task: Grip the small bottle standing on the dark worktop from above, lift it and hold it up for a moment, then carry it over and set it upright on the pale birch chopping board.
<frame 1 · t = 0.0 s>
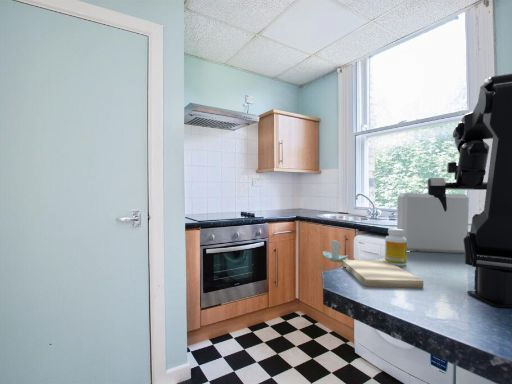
hand: (464, 211, 76), 15 cm above the countertop, tool tilted 35°, fingers open, 9 cm apart
bevelled white case: (430, 250, 93), on the countertop
supplement bottle: (395, 264, 74), on the countertop
pacifier: (336, 261, 76), on the countertop
birch board: (377, 275, 63), on the countertop
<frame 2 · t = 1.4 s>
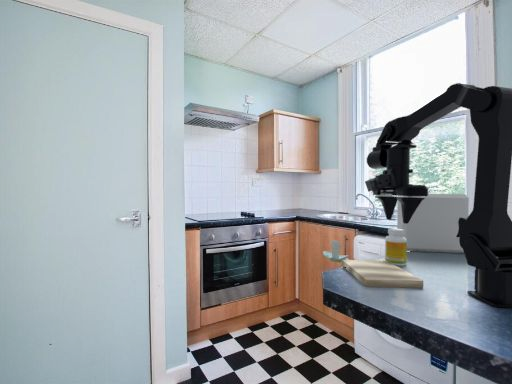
hand: (396, 221, 74), 12 cm above the countertop, tool pointing down, fingers open, 9 cm apart
nothing on the countertop moved.
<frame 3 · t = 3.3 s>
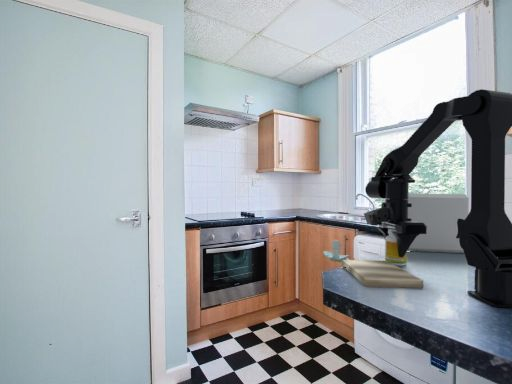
hand: (395, 254, 74), 3 cm above the countertop, tool pointing down, fingers closed on supplement bottle, 5 cm apart
supplement bottle: (395, 264, 74), on the countertop, touching gripper
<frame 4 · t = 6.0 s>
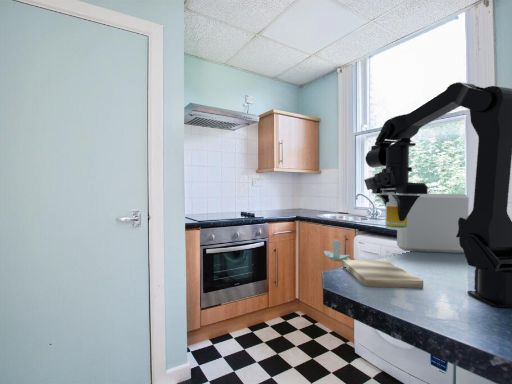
hand: (396, 219, 74), 12 cm above the countertop, tool pointing down, fingers closed on supplement bottle, 5 cm apart
supplement bottle: (395, 229, 74), point 10 cm above the countertop, touching gripper
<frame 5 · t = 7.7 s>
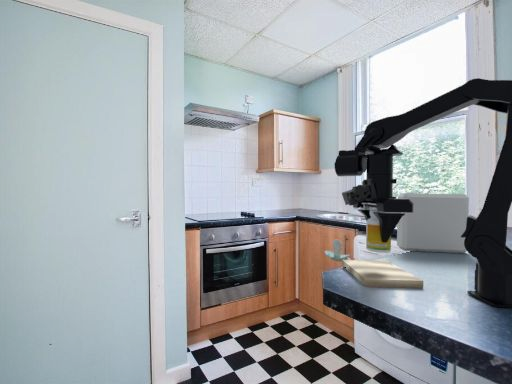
hand: (378, 240, 63), 8 cm above the countertop, tool pointing down, fingers closed on supplement bottle, 5 cm apart
supplement bottle: (378, 251, 63), point 6 cm above the countertop, touching gripper
when the fingers open (5 cm above the countertop, at t = 9.0 s): supplement bottle drops 1 cm, resting on birch board.
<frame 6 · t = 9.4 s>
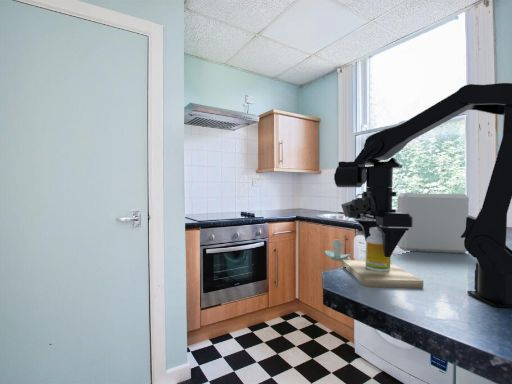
hand: (377, 252, 63), 5 cm above the countertop, tool pointing down, fingers open, 9 cm apart
supplement bottle: (377, 269, 63), point 1 cm above the countertop, touching birch board
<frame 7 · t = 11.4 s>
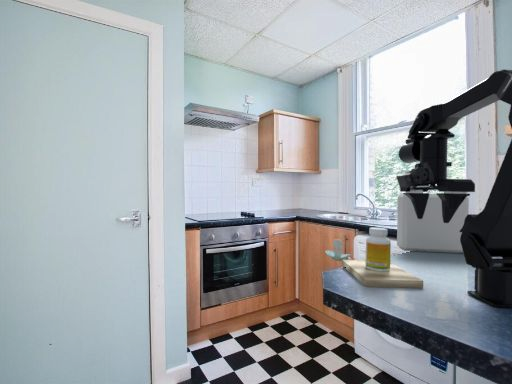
hand: (432, 220, 66), 13 cm above the countertop, tool pointing down, fingers open, 9 cm apart
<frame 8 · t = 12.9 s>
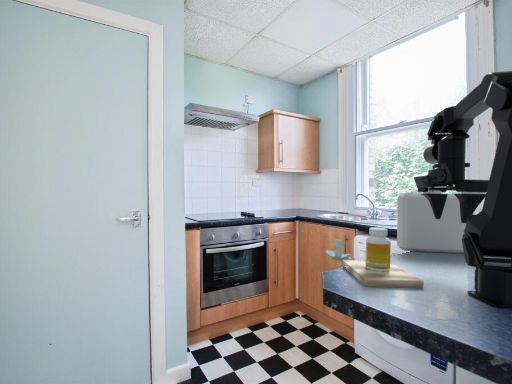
hand: (450, 220, 67), 13 cm above the countertop, tool pointing down, fingers open, 9 cm apart
at the end: supplement bottle inside the target area on the birch board (0.0 cm from its centre), point 1.3 cm above the birch board's base; supplement bottle tilted 0°; the gripper is holding nothing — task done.
